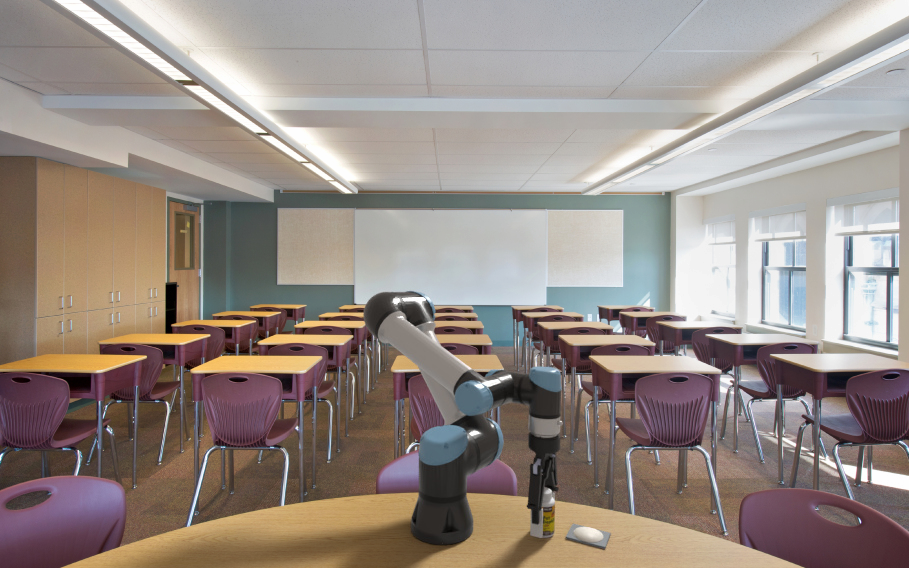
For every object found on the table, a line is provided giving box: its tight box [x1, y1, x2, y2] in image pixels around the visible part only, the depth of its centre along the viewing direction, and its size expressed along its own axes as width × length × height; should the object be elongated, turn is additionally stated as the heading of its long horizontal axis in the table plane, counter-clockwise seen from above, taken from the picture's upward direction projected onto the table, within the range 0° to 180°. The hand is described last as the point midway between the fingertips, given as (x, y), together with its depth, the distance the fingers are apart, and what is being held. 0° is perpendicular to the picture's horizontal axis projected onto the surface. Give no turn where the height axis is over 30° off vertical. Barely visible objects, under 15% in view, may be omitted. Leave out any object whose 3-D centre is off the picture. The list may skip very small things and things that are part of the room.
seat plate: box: [565, 523, 612, 550], centre depth 113 cm, size 9×7×1 cm
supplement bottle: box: [541, 487, 556, 539], centre depth 115 cm, size 6×6×10 cm
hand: (542, 526), depth 115 cm, fingers open, 9 cm apart
